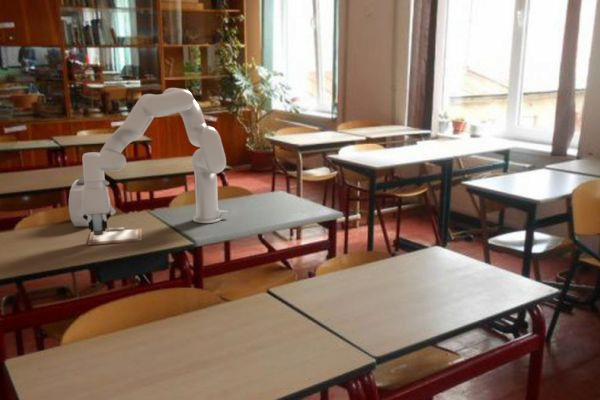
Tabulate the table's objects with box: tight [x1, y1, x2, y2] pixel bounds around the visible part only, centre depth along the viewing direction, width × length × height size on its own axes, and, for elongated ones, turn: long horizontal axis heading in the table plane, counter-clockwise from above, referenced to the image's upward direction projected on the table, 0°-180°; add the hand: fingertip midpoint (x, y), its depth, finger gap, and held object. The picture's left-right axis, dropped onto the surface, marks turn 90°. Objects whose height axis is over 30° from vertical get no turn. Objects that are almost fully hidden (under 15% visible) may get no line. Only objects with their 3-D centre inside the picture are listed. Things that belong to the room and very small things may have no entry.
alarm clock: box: [68, 176, 92, 228], centre depth 247 cm, size 21×8×20 cm, turn 179°
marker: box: [92, 213, 103, 235], centre depth 222 cm, size 4×4×10 cm
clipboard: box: [87, 226, 143, 246], centre depth 229 cm, size 20×16×2 cm
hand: (98, 230), depth 223 cm, fingers closed on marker, 3 cm apart
